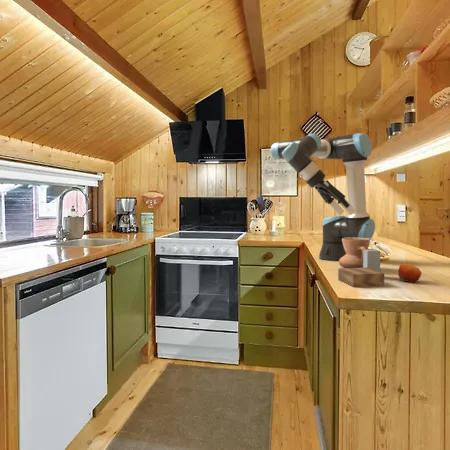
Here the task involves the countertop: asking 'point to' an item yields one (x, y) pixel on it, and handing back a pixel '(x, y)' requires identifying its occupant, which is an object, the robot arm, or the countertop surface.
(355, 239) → the ceramic jug
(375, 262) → the pillar
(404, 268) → the fruit
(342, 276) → the walnut slab
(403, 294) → the countertop surface
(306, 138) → the robot arm
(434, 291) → the countertop surface
